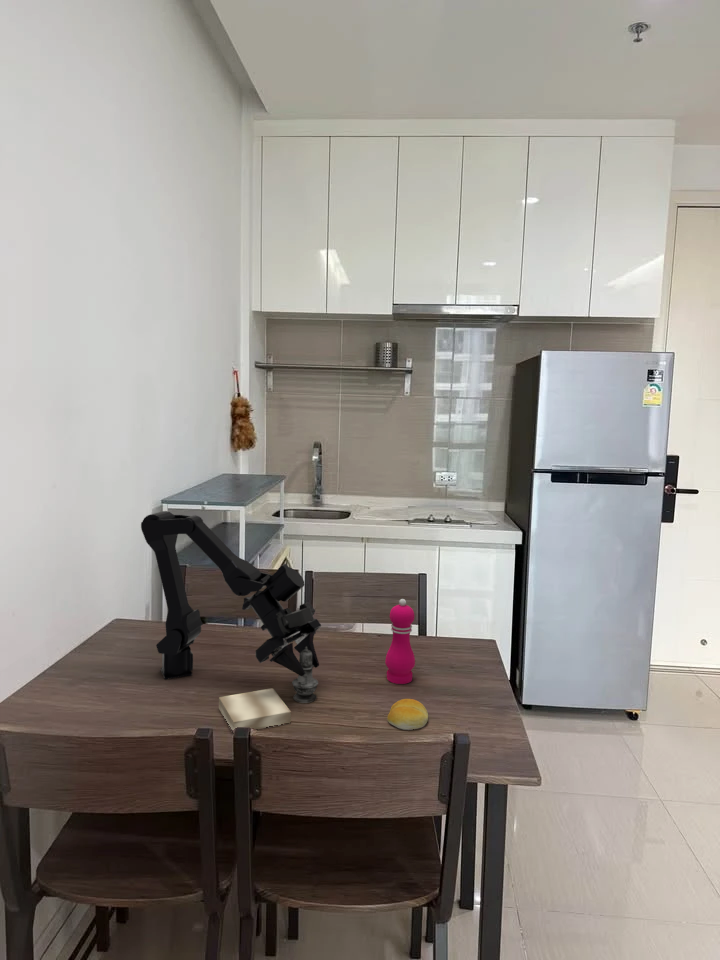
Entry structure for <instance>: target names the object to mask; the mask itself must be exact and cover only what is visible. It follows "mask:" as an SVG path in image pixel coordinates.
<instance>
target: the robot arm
mask: <svg viewBox="0 0 720 960" xmlns="http://www.w3.org/2000/svg"><path fill="white" fill-rule="evenodd" d="M140 523H141V524H140V528H141V529H140V530H141V532H142V534H143V538H144V539H145V542H146V544H147V545H148V546H149V547H150V548H151V549H152V551H153V552H154V555H155V560H156V563H157V568H158V572H159V578H160V581H161V585H162V586H161V587H162V589H163V594H164V598H165V602H166V607H167V608H166V609H167V613H166V614H167V615H166V619H165V625H164V627H165V636H164V637H163V638H162V639H161V640H160V641H159V642H158V643H157V644H156V645H155V646H156V650H157V652H158V654H161V667H160V671H161V674H162V677H163V679H164V680H171V679H177V678H178V679H179V678H183V677H192V676H193V672H192V671H193V669H194V654H193V652H192V649H191V647H190V646H191V645H193V644H194V643H195V640H196V638H197V639H198V637H199V635H200V634H201V633H202V626H203V625H204V623H203V621H202V619H201V614H200V613H201V612H200V609H198V608H197V609H193V608H192V606H190V604H189V600H188V597H187V593H186V588H185V584H184V583H185V582H184V580H183V575H182V570H181V565H180V562H179V558H178V553H177V549H176V545H177V542H178V541H177V539H178V535H187V536H188V537H189V539H191V540H192V542H193V543H195V545H196V546H197V547H198V548H199V549H200V550H201V551H202V552H203V553H204V554H205V555H206V556H207V557H208V558H209V560H211V561H212V563H213V564H214V565H215V566H217V567H218V569H219V570H220V571H221V573H222V577H223V580H224V582H225V583H226V585H227V586H228V587H229V589H230V590H231V592H232V593H233V594H234V595H236V596H238V597H244V598H243V603H242V607H241V609H242V610H243V611H245V610H249V609H253V611H254V613H255V614H256V616H257V617H258V618H259V620H260V621H261V623H262V625H261V626H260V629H261V630H262V631H266V630H267V632H268V634H269V635H270V638H267V639H266V640H265V642H263V643H262V644H261V645H260V646H259V647H258V648H257V649H255V658H256V659H257V661H258V662H259V664H262V663H264V662H266V661H268V660H269V662H270V663H271V662H274V663H276V664H279V666H282V667H285V668H286V669H288V670H289V671H291V672H293V673H295V674H296V675H298V676H299V675H300V676H303V675H305V672H304V670H303V668H302V666H301V664H300V663H299V660H298V657H297V656H296V655H295V653H294V650H296V651H297V652H298V653H299V654H300V652H301V651H302V650H304V649H305V647H306V646H307V649H308V650H310V651H311V652H312V664H313V665H314V667H313V668H315V669H316V668H318V667H319V666H320V662H319V659H318V656H317V652H316V649H315V644H314V637H315V635H316V634H317V633H316V631H317V630H319V629H320V628H321V627H322V625H321V623H320V621H319V620H318V619H317V618H314V616H315V613H316V610H315V608H314V606H313V605H311V603H310V602H309V601H307V602H305V603H302V604H300V605H299V609H298V610H295V611H292V609H290V608H288V607H287V608H284V607H283V605H282V604H281V603H280V602H287V601H289V600H290V599H291V598H292V597H293V596H295V595H296V593H298V592H299V591H300V590H302V588H304V587H305V580H304V577H302V575H301V573H300V572H298V571H296V569H294V568H291V567H289V566H288V565H287V563H283V564H282V565H281V566H280V567H279V568H277V570H276V571H275V572H274V573H273V574H270V573H267V572H262V571H260V569H258V568H257V567H256V566H254V564H252V563H251V562H250V561H247V560H245V559H243V558H241V557H239V556H238V555H236V554H235V553H234V552H233V551H232V550H231V549H230V548H229V547H228V546H227V544H225V542H223V540H221V538H219V537H218V535H216V534H215V533H214V531H212V529H211V528H209V526H208V525H207V524H206V523H205V522H204V520H203V519H202V517H200V516H199V515H196V514H194V515H187V514H186V515H185V514H173V513H172V512H171V511H168V510H163V511H159V512H155V513H151V514H148V515H146V516H145V517H144V518H143V520H142V521H141V522H140ZM263 588H264V589H263ZM262 589H263V590H262ZM254 592H255V593H254ZM251 593H253V594H252V595H251V596H248V595H249V594H251ZM245 596H246V597H245ZM294 642H295V643H296V645H295V646H294V644H293V643H294ZM270 656H272V657H271V658H270Z"/></svg>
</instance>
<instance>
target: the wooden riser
mask: <svg viewBox="0 0 720 960" xmlns="http://www.w3.org/2000/svg"><path fill="white" fill-rule="evenodd" d="M218 710H219V711H220V713H221V715H222V716H224V717H223V719H224V720H225V719H226V720H225V722H226V721H227V722H226V723H228V724H229V725H228V724H227V725H228V727H229V726H230V727H231V729H232V730H234V729H235V728H237V727H250V728H254V729H258V730H262V729H266V727H268V728H270V727H269V726H273V727H275V726H274V725H278V726H282V725H281V724H283V725H285V724H284V723H289V724H291V723H290V722H292V711H291V710H290V708H288V706H287V705H286V704H285V702H284V701H283V700H282V697H280V696H279V694H278V693H277V692H276V690H275V689H274V688H267V689H260V690H254V691H248V692H243V693H236V694H231V695H230V694H229V695H225V696H220V697H218ZM230 727H229V728H230ZM231 729H230V730H231Z"/></svg>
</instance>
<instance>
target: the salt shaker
mask: <svg viewBox="0 0 720 960" xmlns="http://www.w3.org/2000/svg"><path fill="white" fill-rule="evenodd" d="M298 656H299V660H298V661H299V663H300V664H301V666H302V668H303V670H304V672H305V675H303V676H300V675H298V676H297V678H296V677H295V678H294V679H293V680H292V682H291V685H292V686H293V689H294V691H295V692H296V693H295V694H294V695H293V697H292V699H293V701H295V702H297V703H300V704H309V703H312V702H314V701H316V700H317V695H316V694H315V693H314V692H316V690H317V688H318V685H319V680H318V679H317V678H314V677H313V668H315V667H314V665H313V664H312V652H311V651H310V650H308V649H307V646H306V647H305V649H304V650H302V651H301V652H300V653H299V655H298Z"/></svg>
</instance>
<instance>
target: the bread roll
mask: <svg viewBox="0 0 720 960" xmlns="http://www.w3.org/2000/svg"><path fill="white" fill-rule="evenodd" d="M386 718H387V722H388V723H389V724H390V725H392V726H394V727H395V728H397V729H399V730H403V731H413V729H414V730H417V729H421V728H423V727H425V725H427V722H428V720H429V714H428V710H427V709H426V707H425V706H424V704H423V703H422V702H420V701H418V700H416V699H412V698H402V699H399V700H398V701H396V702H395V703H393V704H392V705H391V708H390V710H389V713H388V714H387V717H386Z"/></svg>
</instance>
